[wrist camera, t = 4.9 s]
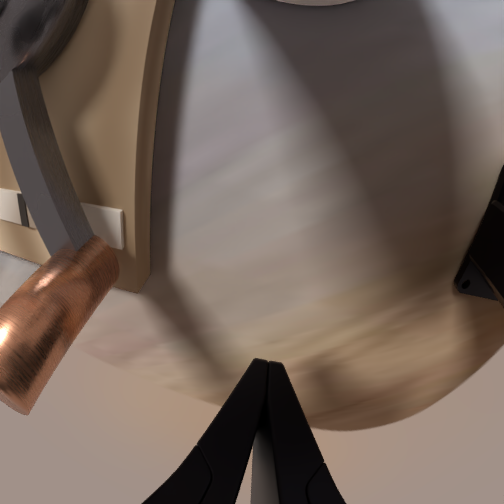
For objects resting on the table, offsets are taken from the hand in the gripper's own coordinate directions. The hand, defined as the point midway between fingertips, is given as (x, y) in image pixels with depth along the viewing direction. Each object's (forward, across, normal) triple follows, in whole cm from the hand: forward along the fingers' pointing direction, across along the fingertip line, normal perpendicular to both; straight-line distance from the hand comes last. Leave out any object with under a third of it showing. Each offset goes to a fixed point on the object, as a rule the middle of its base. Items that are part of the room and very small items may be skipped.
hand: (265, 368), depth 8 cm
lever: (+3, +10, -7) cm, 12 cm away
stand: (+5, +12, -6) cm, 15 cm away
